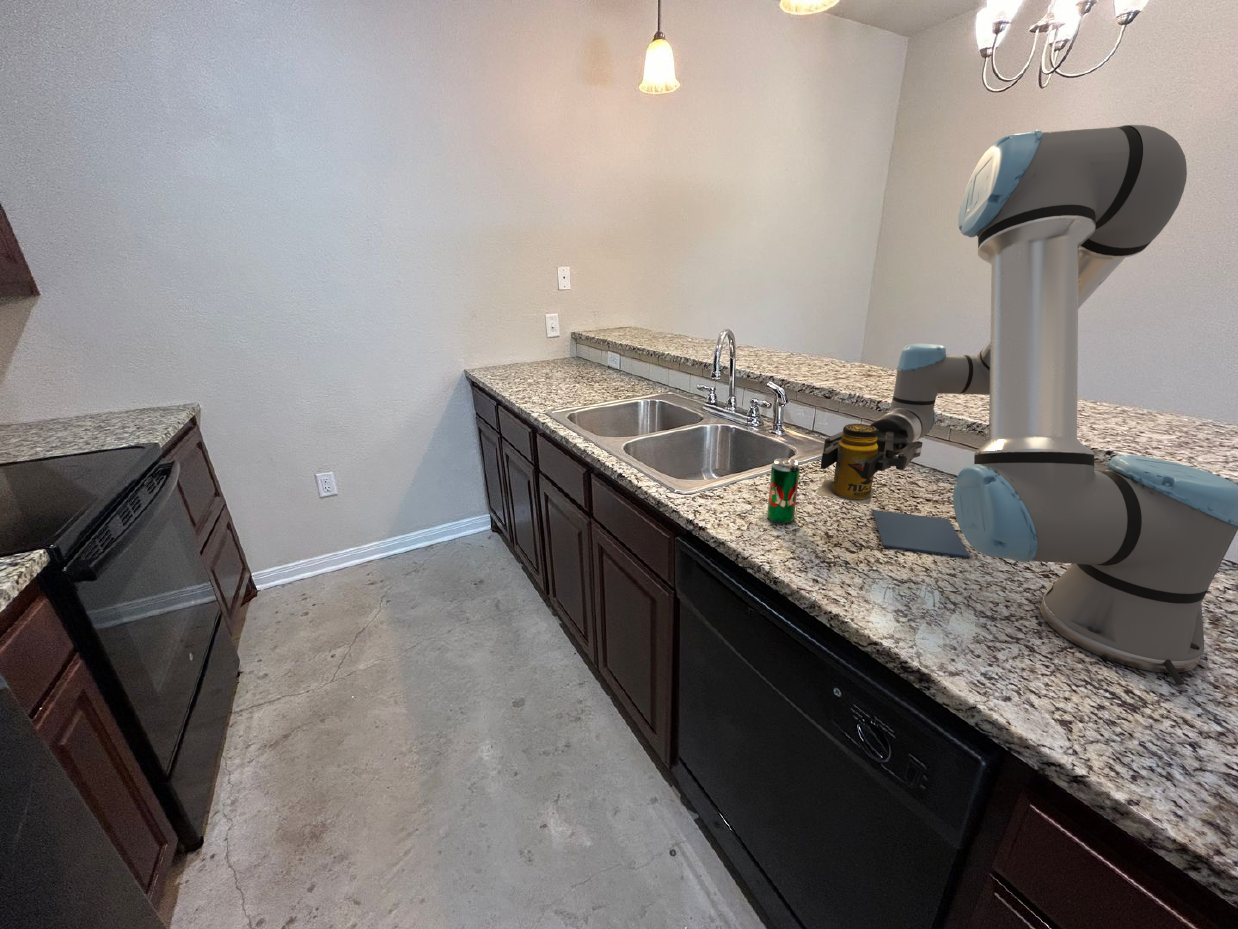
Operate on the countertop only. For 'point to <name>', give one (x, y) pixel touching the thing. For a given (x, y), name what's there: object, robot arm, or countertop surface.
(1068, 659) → the countertop surface
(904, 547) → the blue mat
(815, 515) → the countertop surface
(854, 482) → the condiment
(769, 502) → the soda can
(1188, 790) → the countertop surface
